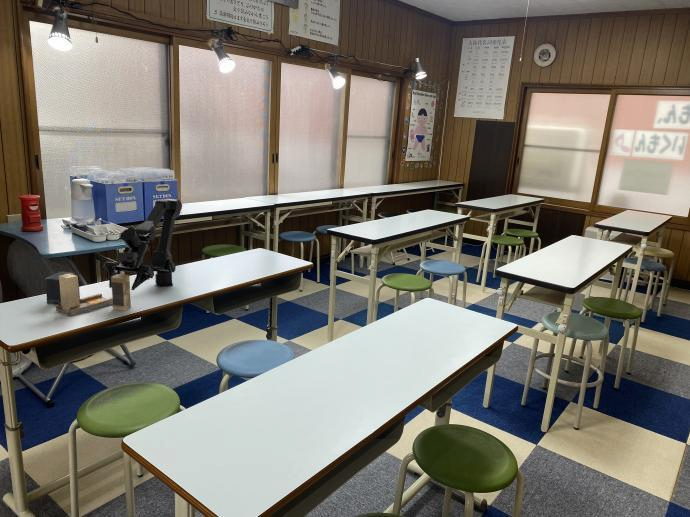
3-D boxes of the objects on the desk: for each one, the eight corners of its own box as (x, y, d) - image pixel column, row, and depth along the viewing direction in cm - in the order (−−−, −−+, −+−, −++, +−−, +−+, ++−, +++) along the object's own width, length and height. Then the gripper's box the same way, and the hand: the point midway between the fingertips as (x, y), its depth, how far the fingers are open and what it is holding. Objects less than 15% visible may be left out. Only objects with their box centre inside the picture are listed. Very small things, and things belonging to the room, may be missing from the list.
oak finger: (119, 305, 198) (117, 274, 195) (130, 307, 198) (129, 275, 194) (112, 309, 194) (110, 277, 191) (124, 311, 193) (122, 278, 190)
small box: (62, 305, 196) (60, 279, 193) (46, 304, 196) (43, 278, 193) (77, 296, 206) (75, 272, 203) (61, 295, 206) (59, 271, 203)
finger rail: (100, 298, 205) (98, 265, 202) (115, 303, 201) (113, 269, 197) (56, 311, 189) (52, 275, 186) (71, 316, 185) (68, 279, 182)
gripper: (105, 241, 197) (88, 276, 189) (149, 245, 194) (134, 280, 186) (117, 256, 206) (102, 290, 198) (160, 260, 203) (146, 295, 195)
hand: (121, 288), depth 194 cm, fingers open, 9 cm apart
